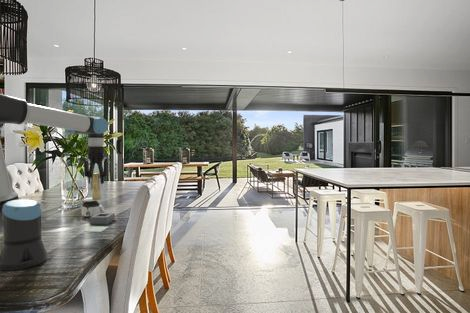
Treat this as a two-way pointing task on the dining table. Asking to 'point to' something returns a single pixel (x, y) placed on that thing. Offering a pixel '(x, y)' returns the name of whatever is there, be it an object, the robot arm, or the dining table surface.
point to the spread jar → (91, 208)
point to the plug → (95, 186)
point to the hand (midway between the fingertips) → (96, 189)
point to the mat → (96, 229)
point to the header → (102, 218)
